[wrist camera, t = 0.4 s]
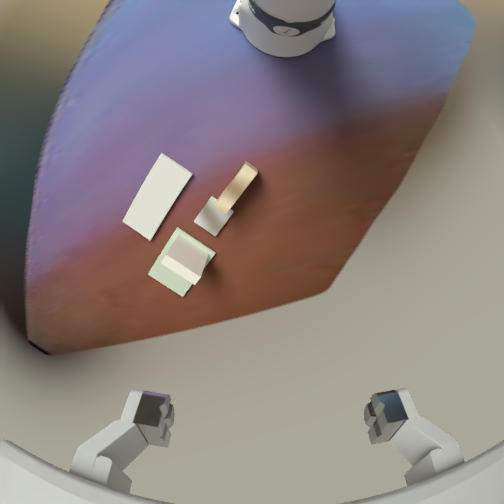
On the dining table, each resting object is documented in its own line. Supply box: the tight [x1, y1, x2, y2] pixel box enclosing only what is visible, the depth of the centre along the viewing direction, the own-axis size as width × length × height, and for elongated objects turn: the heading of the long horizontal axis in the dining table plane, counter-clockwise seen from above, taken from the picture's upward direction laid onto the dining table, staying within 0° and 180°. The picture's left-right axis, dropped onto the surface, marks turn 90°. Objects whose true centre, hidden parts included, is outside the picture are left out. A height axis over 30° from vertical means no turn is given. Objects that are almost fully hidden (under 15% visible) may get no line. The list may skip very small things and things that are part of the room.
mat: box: [148, 227, 216, 297], centre depth 56 cm, size 13×9×1 cm
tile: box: [161, 235, 208, 285], centre depth 50 cm, size 2×7×9 cm, turn 53°
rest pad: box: [123, 153, 193, 240], centre depth 50 cm, size 16×7×1 cm, turn 143°
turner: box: [194, 161, 258, 236], centre depth 49 cm, size 15×5×4 cm, turn 143°
